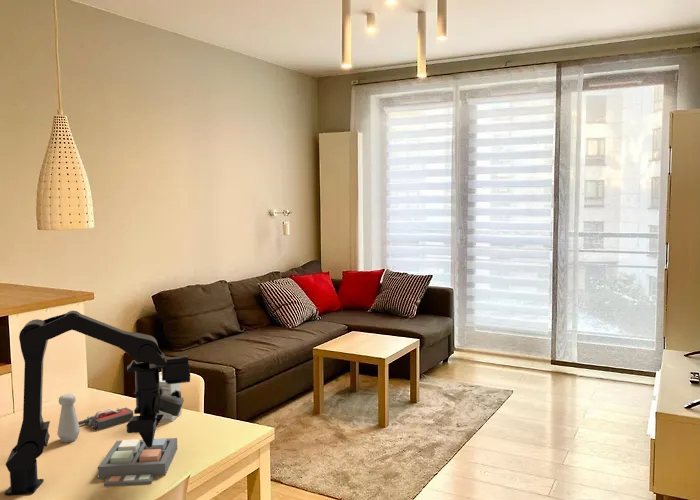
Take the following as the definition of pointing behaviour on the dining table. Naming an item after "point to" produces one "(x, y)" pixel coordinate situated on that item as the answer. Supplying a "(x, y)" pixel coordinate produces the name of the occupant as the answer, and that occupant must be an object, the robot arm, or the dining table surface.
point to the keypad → (136, 466)
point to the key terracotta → (150, 455)
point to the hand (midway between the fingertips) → (149, 446)
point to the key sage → (122, 457)
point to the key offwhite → (129, 445)
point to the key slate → (158, 444)
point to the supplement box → (170, 389)
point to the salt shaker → (68, 419)
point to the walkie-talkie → (108, 418)
